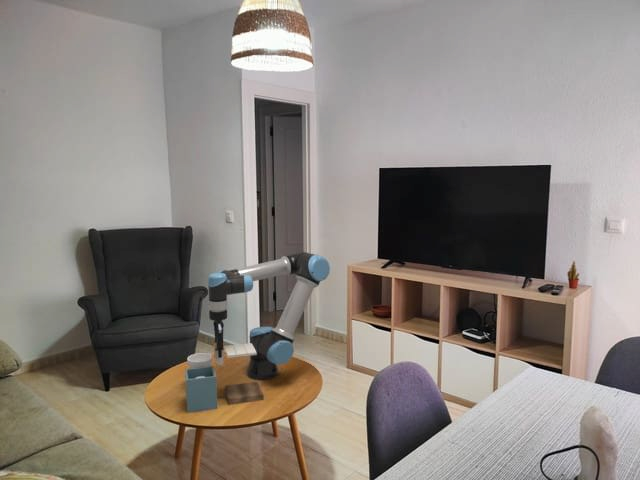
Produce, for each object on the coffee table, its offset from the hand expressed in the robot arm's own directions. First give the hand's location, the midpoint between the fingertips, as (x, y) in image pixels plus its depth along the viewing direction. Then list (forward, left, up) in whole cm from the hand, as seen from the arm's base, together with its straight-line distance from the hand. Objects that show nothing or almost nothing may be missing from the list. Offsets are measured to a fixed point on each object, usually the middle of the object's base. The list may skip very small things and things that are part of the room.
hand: (219, 362), depth 214 cm
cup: (+7, -15, -17) cm, 24 cm away
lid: (-7, 0, +2) cm, 7 cm away
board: (-10, 0, -17) cm, 19 cm away
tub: (+8, +3, -17) cm, 19 cm away
